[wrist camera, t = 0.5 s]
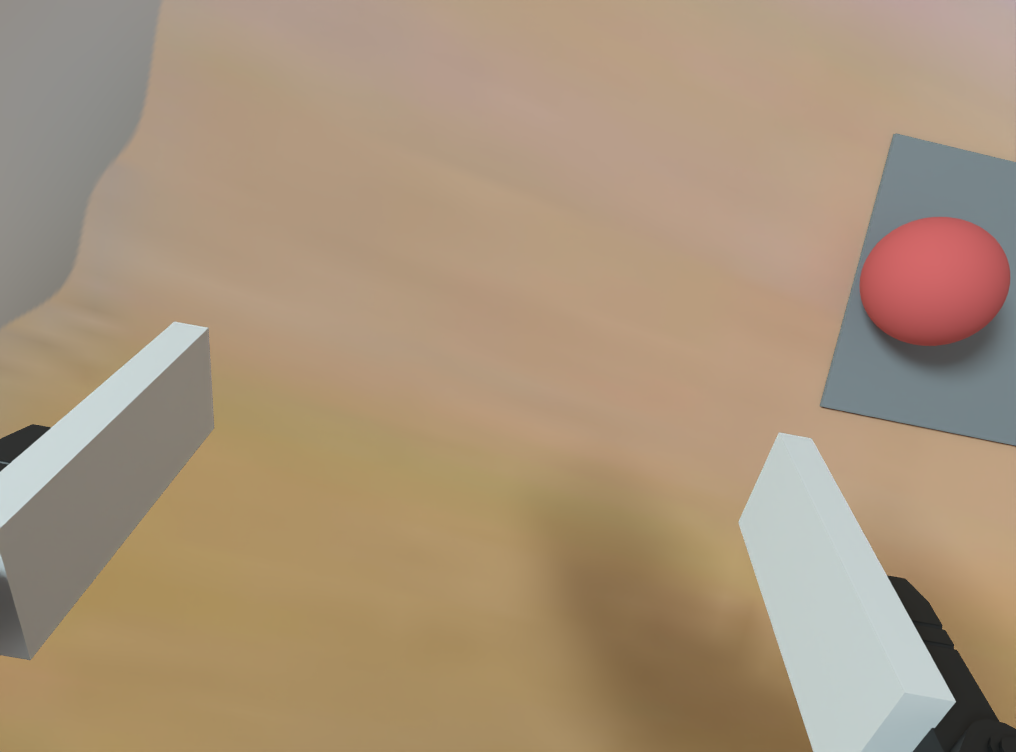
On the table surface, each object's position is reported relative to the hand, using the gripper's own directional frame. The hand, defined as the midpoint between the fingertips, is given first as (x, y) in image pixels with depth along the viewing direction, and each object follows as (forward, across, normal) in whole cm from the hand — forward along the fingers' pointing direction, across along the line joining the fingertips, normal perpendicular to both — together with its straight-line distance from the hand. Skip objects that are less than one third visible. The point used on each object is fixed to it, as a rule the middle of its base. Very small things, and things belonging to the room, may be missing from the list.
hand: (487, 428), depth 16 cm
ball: (+18, -19, 0) cm, 27 cm away
